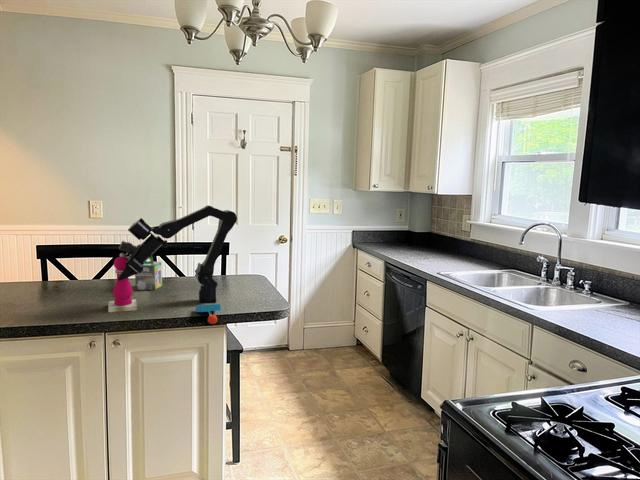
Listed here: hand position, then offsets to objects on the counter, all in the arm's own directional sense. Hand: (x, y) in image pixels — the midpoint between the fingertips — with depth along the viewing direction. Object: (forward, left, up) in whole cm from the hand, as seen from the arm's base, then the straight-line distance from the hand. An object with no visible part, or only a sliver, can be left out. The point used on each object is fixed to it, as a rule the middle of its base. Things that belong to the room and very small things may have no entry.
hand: (118, 277), depth 179 cm
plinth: (-1, 0, -12) cm, 12 cm away
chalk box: (-5, -32, -12) cm, 35 cm away
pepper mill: (-2, 0, -11) cm, 11 cm away
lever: (-35, +14, -13) cm, 39 cm away
